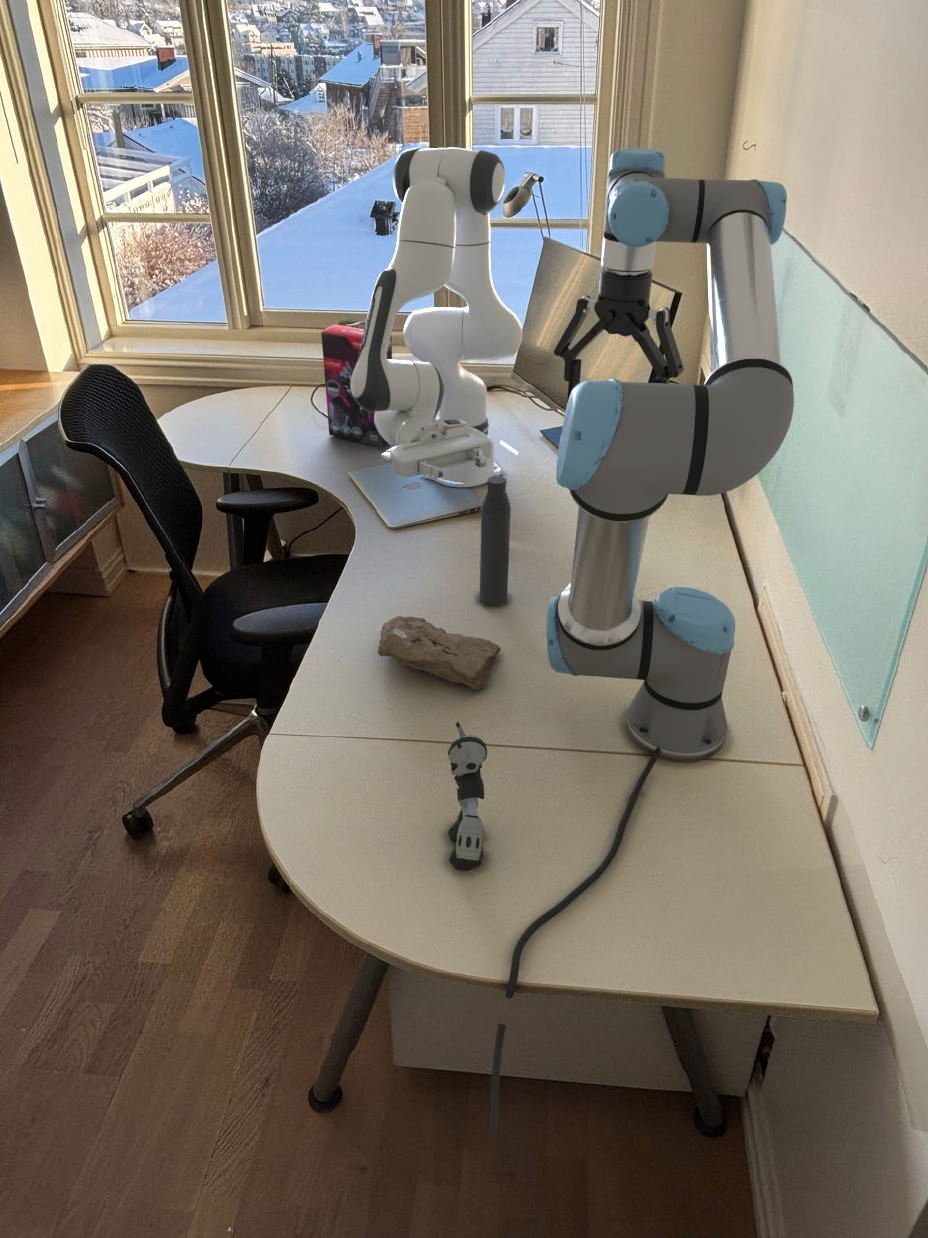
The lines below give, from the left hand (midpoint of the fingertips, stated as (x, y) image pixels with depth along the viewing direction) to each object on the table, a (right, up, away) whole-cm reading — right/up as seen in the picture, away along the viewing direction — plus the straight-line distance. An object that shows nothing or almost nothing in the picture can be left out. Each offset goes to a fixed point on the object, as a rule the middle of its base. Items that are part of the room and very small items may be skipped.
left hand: (462, 468), depth 170 cm
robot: (+1, -58, -47) cm, 75 cm away
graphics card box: (-26, +19, +67) cm, 75 cm away
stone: (-5, -35, -13) cm, 38 cm away
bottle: (+6, -24, +4) cm, 25 cm away
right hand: (+24, +5, -25) cm, 35 cm away
